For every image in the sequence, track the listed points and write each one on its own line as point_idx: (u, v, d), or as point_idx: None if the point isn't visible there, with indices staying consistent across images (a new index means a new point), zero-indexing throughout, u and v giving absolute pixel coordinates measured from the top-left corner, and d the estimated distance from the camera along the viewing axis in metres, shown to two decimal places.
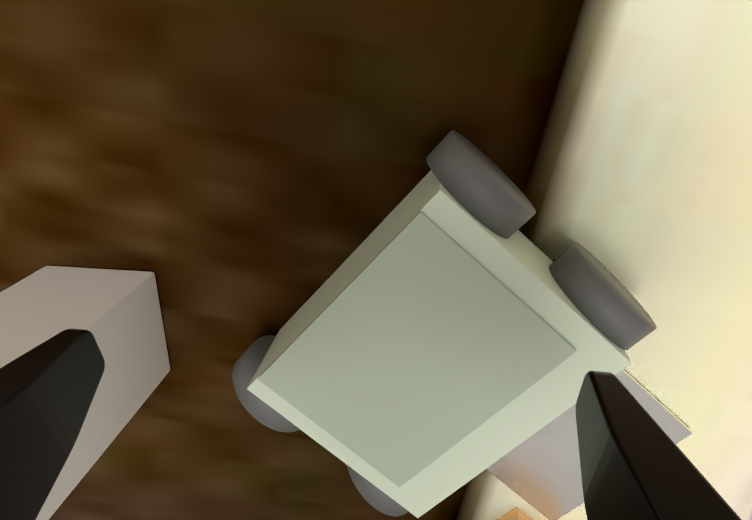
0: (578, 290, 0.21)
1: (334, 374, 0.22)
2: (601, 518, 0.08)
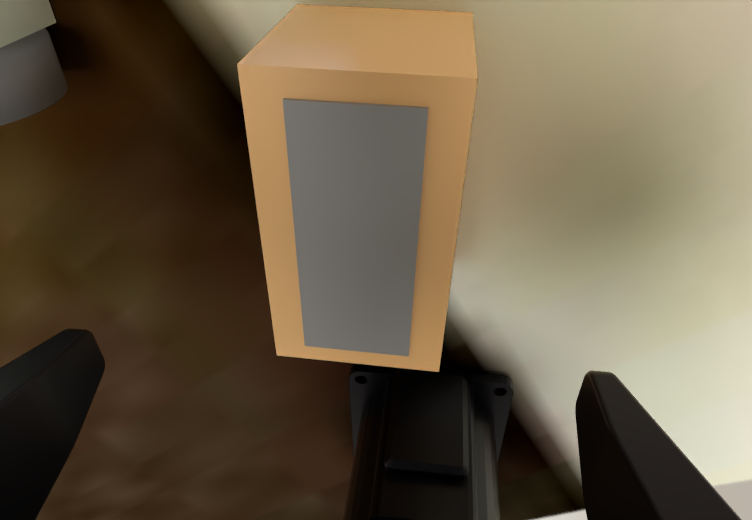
0: None
1: None
2: (601, 518, 0.08)
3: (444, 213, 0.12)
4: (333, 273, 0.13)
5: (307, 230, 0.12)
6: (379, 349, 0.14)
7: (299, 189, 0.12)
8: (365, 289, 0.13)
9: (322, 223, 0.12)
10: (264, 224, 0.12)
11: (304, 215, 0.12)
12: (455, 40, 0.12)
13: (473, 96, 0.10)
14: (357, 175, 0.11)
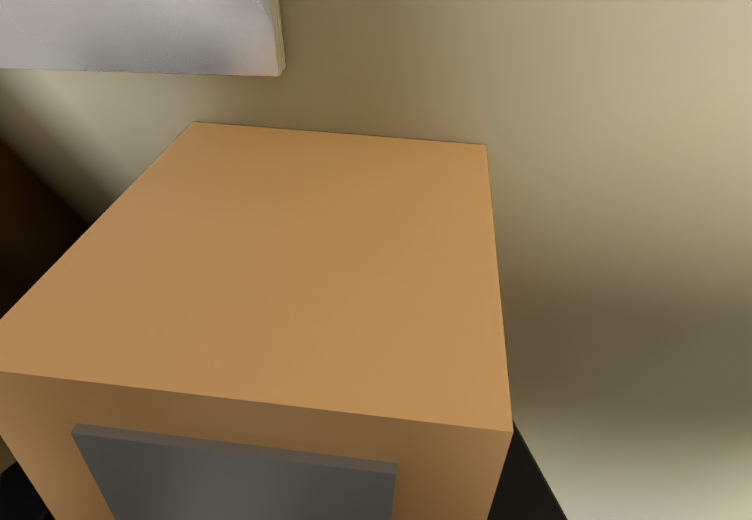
0: None
1: None
2: None
3: None
4: None
5: None
6: None
7: None
8: None
9: None
10: None
11: None
12: (457, 250, 0.06)
13: (500, 455, 0.04)
14: None
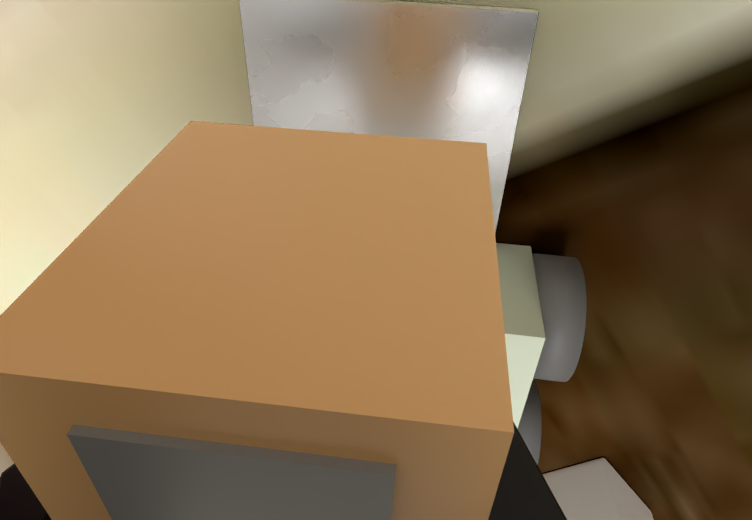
0: None
1: None
2: None
3: None
4: None
5: None
6: None
7: None
8: None
9: None
10: None
11: None
12: (458, 249, 0.06)
13: (501, 456, 0.04)
14: None
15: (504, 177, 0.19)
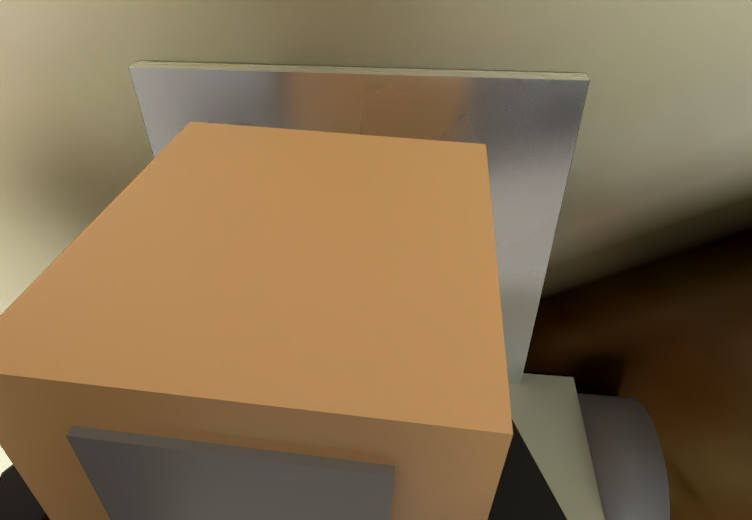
0: None
1: None
2: None
3: None
4: None
5: None
6: None
7: None
8: None
9: None
10: None
11: None
12: (457, 250, 0.06)
13: (500, 457, 0.04)
14: None
15: (537, 300, 0.13)
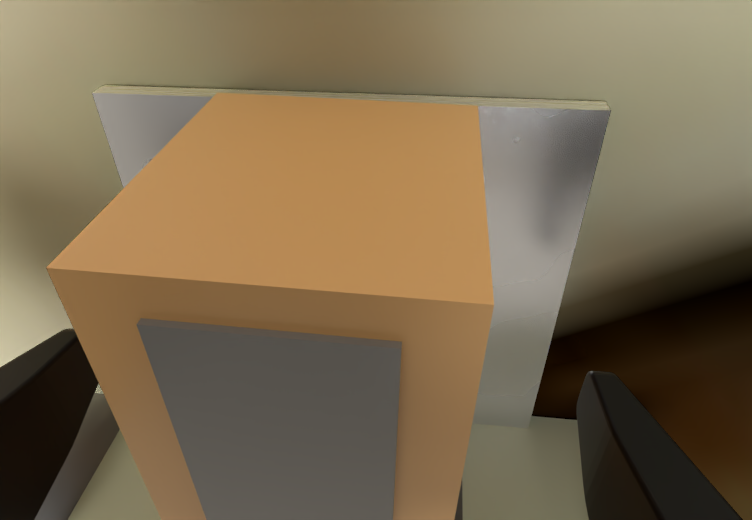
0: None
1: None
2: (602, 518, 0.08)
3: (436, 475, 0.07)
4: None
5: (214, 483, 0.08)
6: None
7: (191, 436, 0.07)
8: None
9: (236, 478, 0.07)
10: (146, 470, 0.08)
11: (205, 467, 0.07)
12: (451, 184, 0.07)
13: (485, 329, 0.05)
14: (285, 422, 0.07)
15: (547, 343, 0.12)
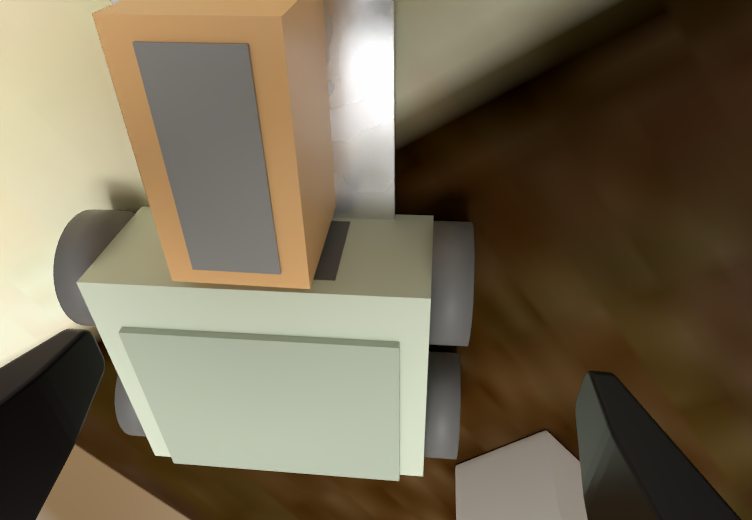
0: None
1: (336, 446, 0.22)
2: (601, 518, 0.08)
3: (281, 138, 0.14)
4: (202, 198, 0.15)
5: (174, 159, 0.15)
6: (255, 268, 0.17)
7: (160, 121, 0.14)
8: (231, 211, 0.15)
9: (184, 151, 0.14)
10: (139, 155, 0.15)
11: (168, 144, 0.14)
12: None
13: (281, 32, 0.12)
14: (205, 106, 0.14)
15: (392, 146, 0.19)
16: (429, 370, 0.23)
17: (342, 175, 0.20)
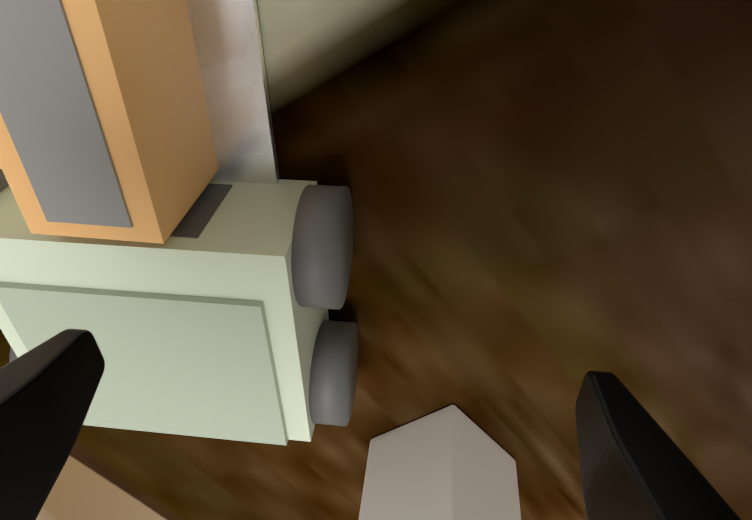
0: None
1: (220, 408, 0.22)
2: (601, 518, 0.08)
3: (107, 86, 0.14)
4: (42, 147, 0.15)
5: (8, 105, 0.15)
6: (106, 221, 0.17)
7: None
8: (72, 160, 0.16)
9: (16, 98, 0.15)
10: None
11: (0, 91, 0.15)
12: None
13: None
14: (28, 51, 0.14)
15: (265, 108, 0.19)
16: (318, 337, 0.23)
17: (220, 137, 0.20)
